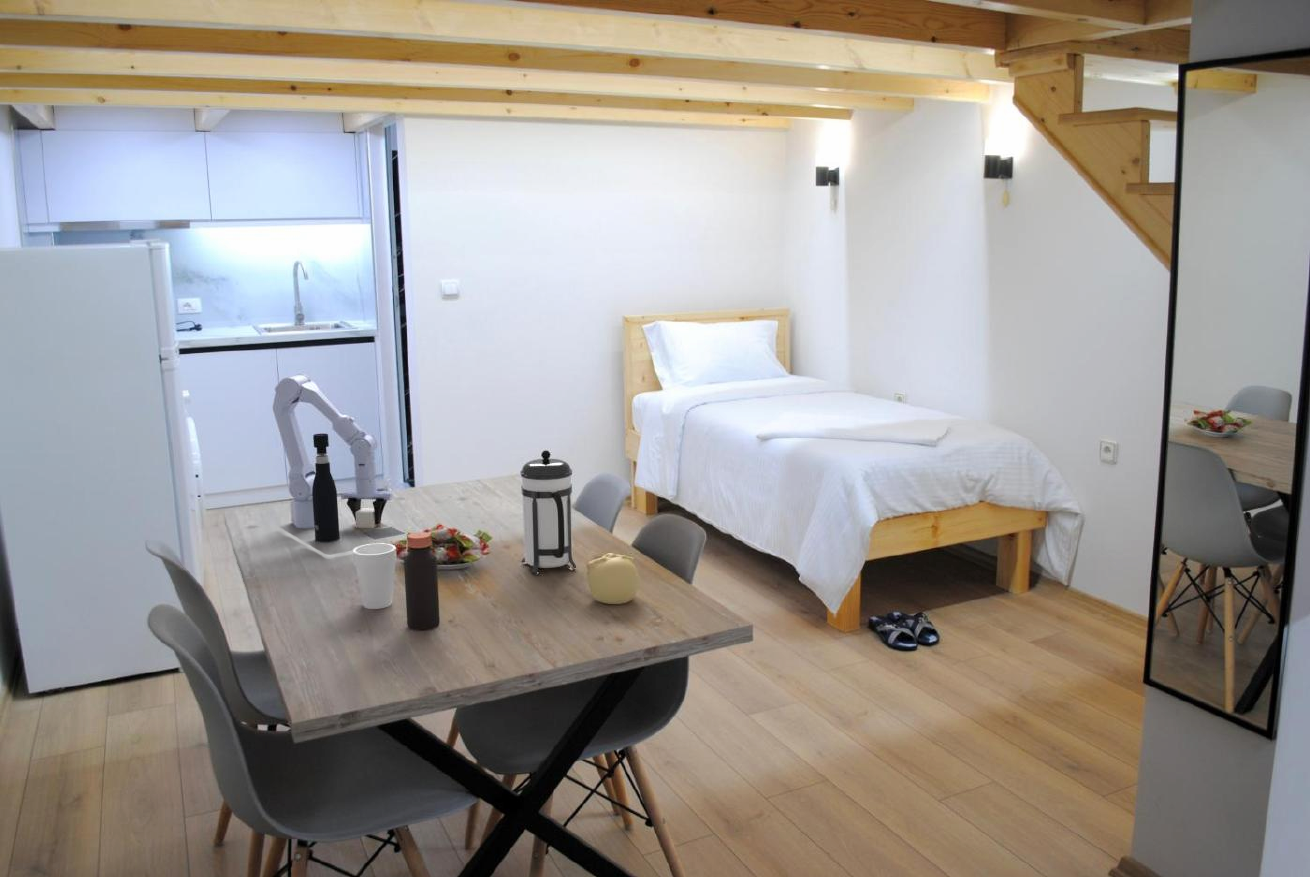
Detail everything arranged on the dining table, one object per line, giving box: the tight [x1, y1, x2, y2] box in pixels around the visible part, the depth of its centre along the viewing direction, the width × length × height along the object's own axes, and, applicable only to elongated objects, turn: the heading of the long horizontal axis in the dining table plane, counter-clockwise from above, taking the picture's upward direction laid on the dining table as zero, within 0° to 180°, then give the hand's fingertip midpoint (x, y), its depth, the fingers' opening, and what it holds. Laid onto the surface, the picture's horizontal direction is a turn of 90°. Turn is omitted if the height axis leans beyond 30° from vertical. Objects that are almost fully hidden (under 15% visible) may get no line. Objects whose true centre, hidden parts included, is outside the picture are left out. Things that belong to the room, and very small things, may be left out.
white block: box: [355, 507, 377, 528], centre depth 302 cm, size 5×5×4 cm
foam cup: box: [352, 542, 397, 610], centre depth 239 cm, size 10×9×13 cm
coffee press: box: [519, 450, 577, 575], centre depth 262 cm, size 17×16×30 cm
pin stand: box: [349, 522, 387, 532], centre depth 303 cm, size 8×8×4 cm
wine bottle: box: [312, 433, 341, 543], centre depth 287 cm, size 6×6×30 cm
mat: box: [360, 526, 406, 540], centre depth 295 cm, size 9×9×1 cm
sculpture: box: [586, 552, 640, 605], centre depth 241 cm, size 12×12×11 cm
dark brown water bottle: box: [403, 531, 441, 631], centre depth 225 cm, size 7×7×20 cm
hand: (368, 523), depth 303 cm, fingers closed on white block, 5 cm apart
